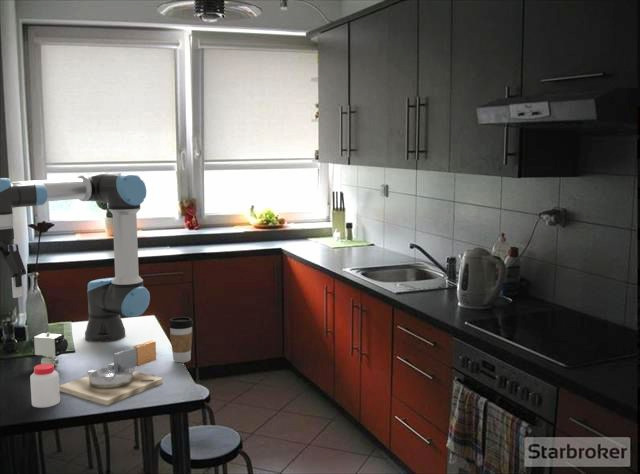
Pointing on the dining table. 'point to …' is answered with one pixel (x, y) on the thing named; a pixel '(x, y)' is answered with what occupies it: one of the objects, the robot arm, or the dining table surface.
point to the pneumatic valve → (49, 347)
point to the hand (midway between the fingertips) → (4, 294)
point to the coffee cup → (181, 338)
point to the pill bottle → (45, 386)
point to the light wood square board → (112, 394)
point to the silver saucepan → (123, 366)
